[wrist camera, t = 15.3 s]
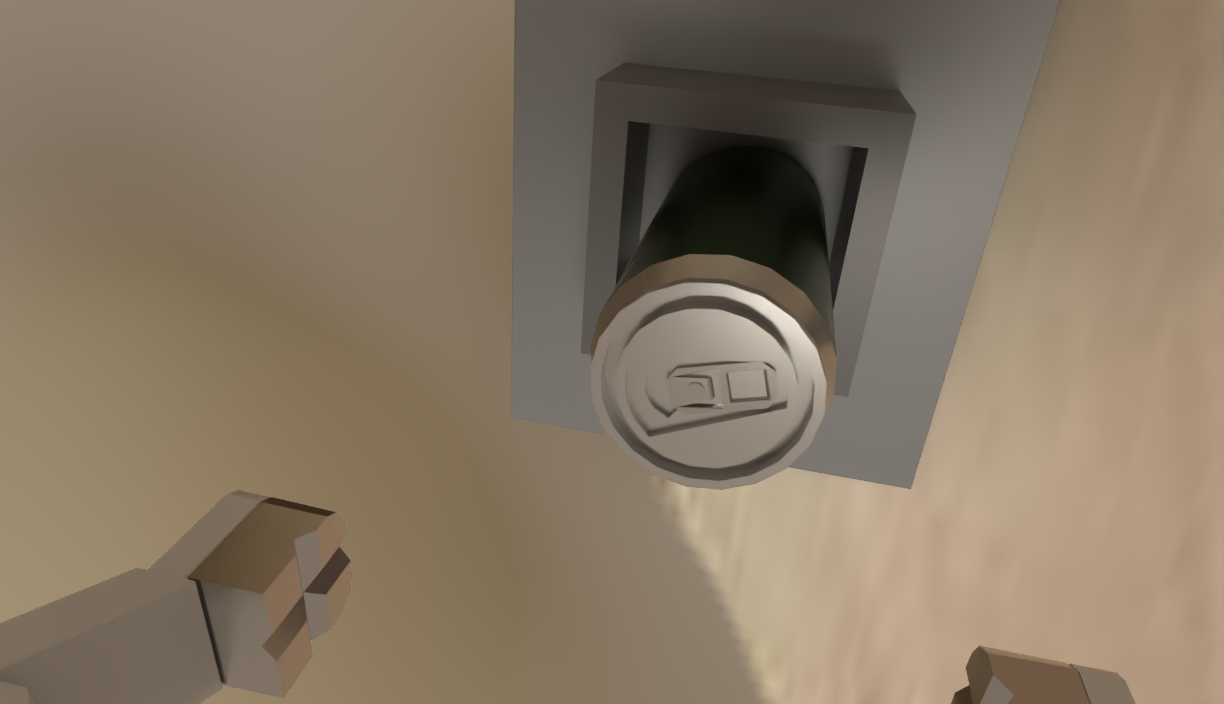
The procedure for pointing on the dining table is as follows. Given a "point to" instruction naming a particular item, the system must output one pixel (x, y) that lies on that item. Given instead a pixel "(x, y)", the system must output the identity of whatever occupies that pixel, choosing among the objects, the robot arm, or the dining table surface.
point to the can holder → (805, 134)
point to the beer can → (721, 326)
